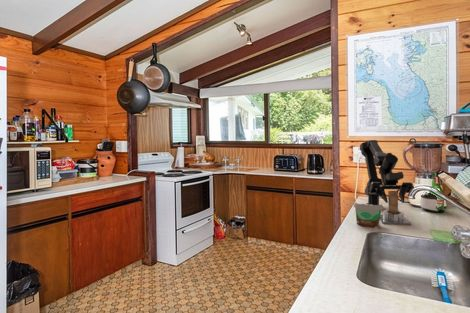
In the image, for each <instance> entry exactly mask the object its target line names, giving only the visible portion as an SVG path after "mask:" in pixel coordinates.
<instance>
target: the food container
mask: <svg viewBox="0 0 470 313" xmlns="http://www.w3.org/2000/svg"><path fill="white" fill-rule="evenodd" d="M353 204H354V205H353V207H354V208H355V218H356V224H357V225H358V226H361V227H364V228H365V227H366V228H378V227H379V225H380V215H381V212H382V210H383V208H384V207H383V204H382V203H380V204H379V205H372V204H367V203H363V204H361V203H357V202H356V201H355V202H354V203H353Z"/></svg>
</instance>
